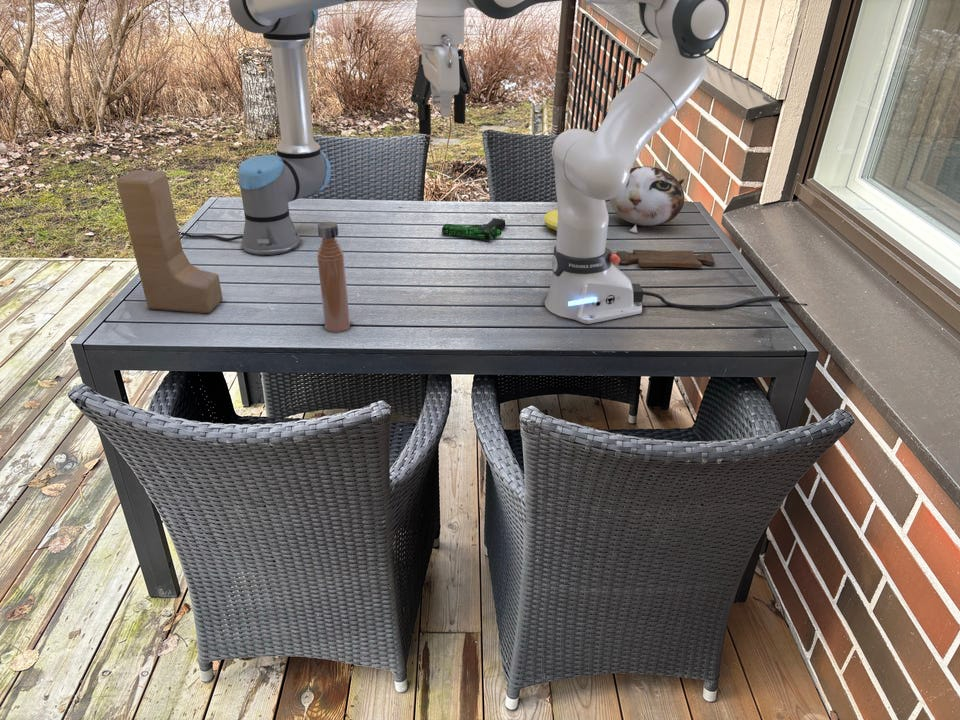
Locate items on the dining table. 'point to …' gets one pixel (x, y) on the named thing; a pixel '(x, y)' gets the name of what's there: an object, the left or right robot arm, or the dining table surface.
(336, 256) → the bottle
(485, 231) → the handgun
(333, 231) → the cap
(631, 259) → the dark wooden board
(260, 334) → the dining table surface
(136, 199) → the decorative block
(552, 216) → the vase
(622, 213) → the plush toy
